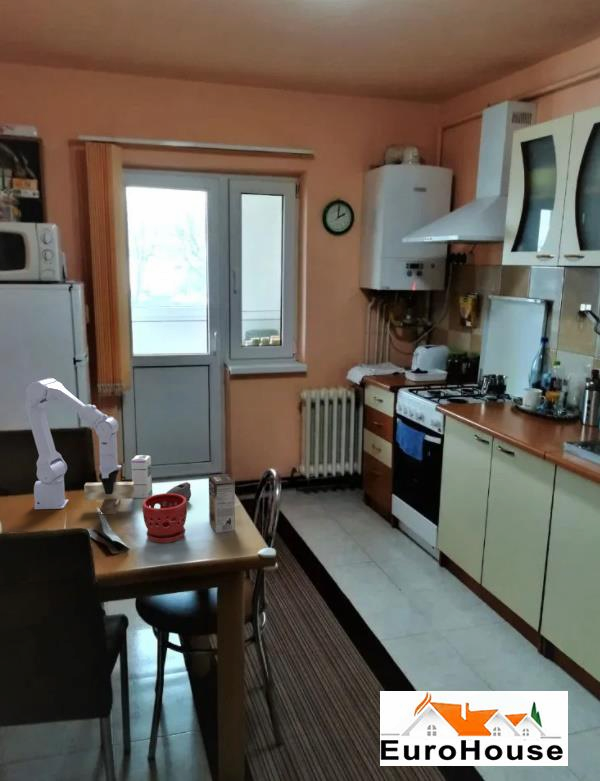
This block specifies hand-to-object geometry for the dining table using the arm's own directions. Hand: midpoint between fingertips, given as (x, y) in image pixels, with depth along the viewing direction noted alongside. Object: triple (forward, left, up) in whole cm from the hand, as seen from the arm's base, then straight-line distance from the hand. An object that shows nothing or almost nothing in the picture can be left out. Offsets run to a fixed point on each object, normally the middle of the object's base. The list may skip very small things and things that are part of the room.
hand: (110, 492), depth 209 cm
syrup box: (+9, +13, -6) cm, 17 cm away
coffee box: (+38, -19, -6) cm, 43 cm away
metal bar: (0, 0, -2) cm, 2 cm away
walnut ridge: (0, 0, -6) cm, 6 cm away
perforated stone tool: (+22, +1, -6) cm, 23 cm away
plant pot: (+21, -26, -6) cm, 34 cm away
